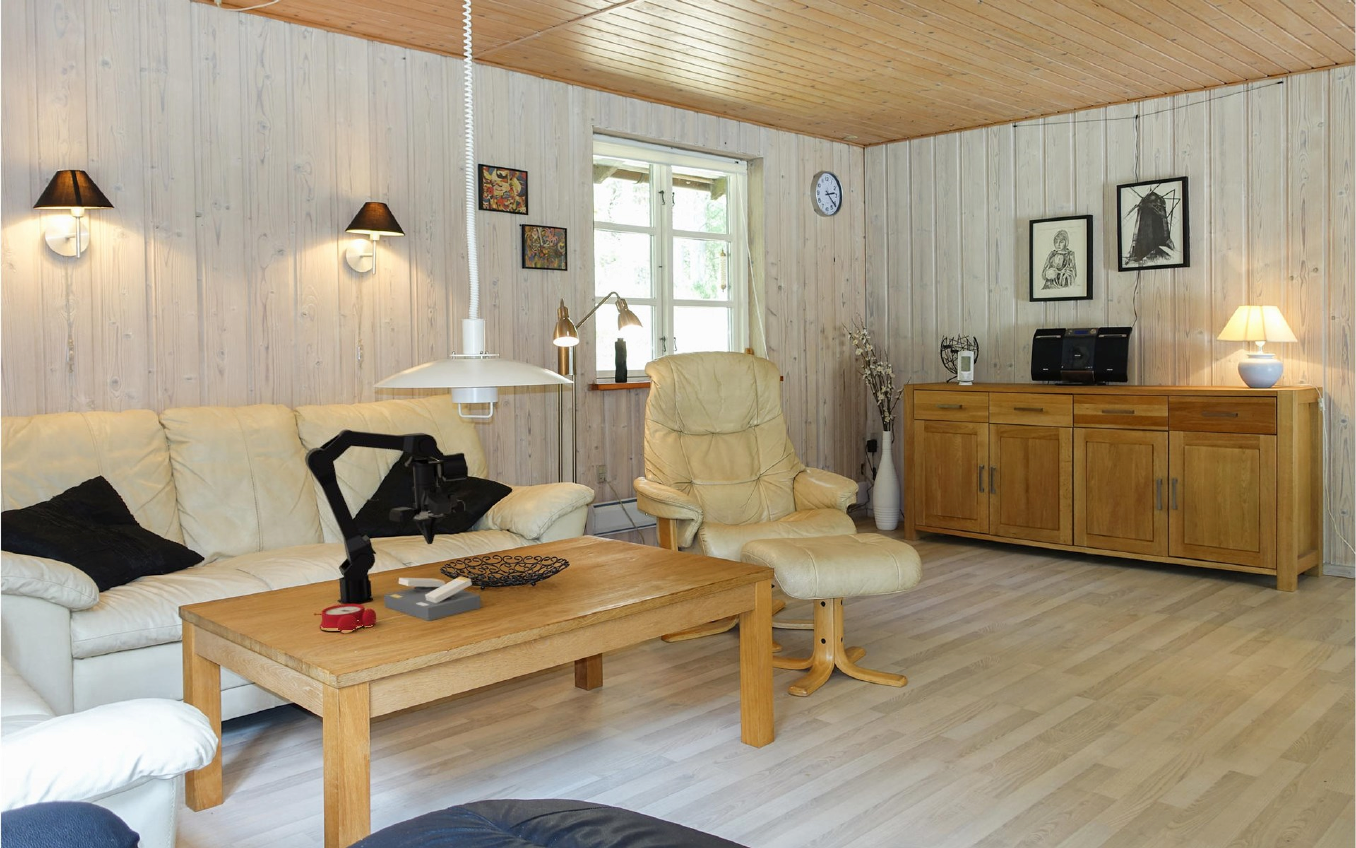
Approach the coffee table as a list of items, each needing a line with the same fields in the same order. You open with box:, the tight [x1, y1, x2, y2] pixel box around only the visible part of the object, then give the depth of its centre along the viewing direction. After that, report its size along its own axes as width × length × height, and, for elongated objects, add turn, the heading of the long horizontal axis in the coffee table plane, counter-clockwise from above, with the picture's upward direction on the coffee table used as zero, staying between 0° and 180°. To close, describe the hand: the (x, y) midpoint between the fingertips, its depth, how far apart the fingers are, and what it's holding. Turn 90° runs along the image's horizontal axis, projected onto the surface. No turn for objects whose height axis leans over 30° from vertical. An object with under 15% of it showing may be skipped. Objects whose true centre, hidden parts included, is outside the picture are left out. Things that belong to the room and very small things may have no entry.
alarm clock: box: [313, 603, 377, 631], centre depth 228 cm, size 10×6×15 cm
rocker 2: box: [425, 576, 473, 603], centre depth 238 cm, size 10×4×2 cm, turn 134°
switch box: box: [383, 586, 482, 622], centre depth 242 cm, size 14×20×4 cm
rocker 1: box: [398, 577, 446, 587], centre depth 247 cm, size 10×4×2 cm, turn 134°
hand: (429, 544), depth 258 cm, fingers closed
